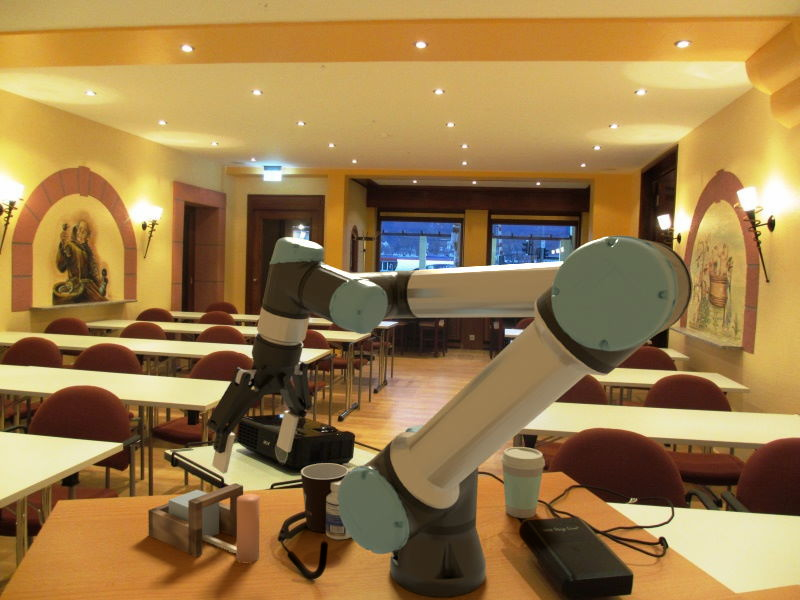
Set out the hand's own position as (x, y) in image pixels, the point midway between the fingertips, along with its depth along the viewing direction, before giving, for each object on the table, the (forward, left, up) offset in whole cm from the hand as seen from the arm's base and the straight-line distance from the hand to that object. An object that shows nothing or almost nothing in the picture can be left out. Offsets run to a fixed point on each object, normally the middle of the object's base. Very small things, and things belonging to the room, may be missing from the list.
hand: (253, 458), depth 103 cm
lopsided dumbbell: (+8, +1, -16) cm, 18 cm away
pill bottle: (-6, -15, -17) cm, 23 cm away
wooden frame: (+13, +1, -16) cm, 21 cm away
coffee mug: (-1, -17, -16) cm, 24 cm away
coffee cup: (-28, -44, -17) cm, 55 cm away
